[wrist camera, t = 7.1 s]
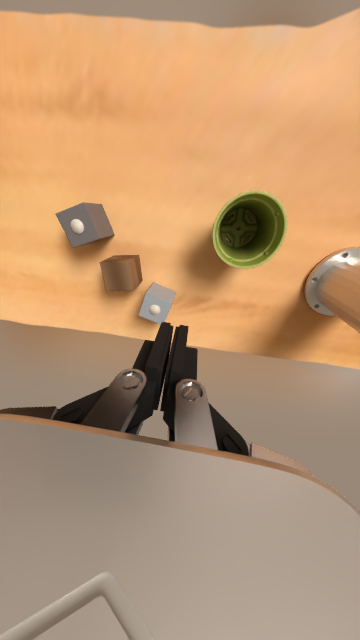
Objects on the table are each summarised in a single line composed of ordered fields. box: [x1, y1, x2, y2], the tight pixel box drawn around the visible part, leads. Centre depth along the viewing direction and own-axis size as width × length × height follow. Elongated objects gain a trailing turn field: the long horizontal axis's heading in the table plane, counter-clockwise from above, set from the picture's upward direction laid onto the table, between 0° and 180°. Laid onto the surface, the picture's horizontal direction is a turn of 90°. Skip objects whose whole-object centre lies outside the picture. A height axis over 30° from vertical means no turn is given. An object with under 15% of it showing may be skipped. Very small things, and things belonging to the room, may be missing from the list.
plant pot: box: [212, 191, 287, 269], centre depth 29 cm, size 9×9×9 cm
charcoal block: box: [56, 203, 114, 248], centre depth 32 cm, size 5×5×6 cm
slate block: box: [139, 283, 176, 324], centre depth 37 cm, size 5×5×6 cm
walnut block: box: [100, 255, 143, 291], centre depth 35 cm, size 5×5×6 cm
